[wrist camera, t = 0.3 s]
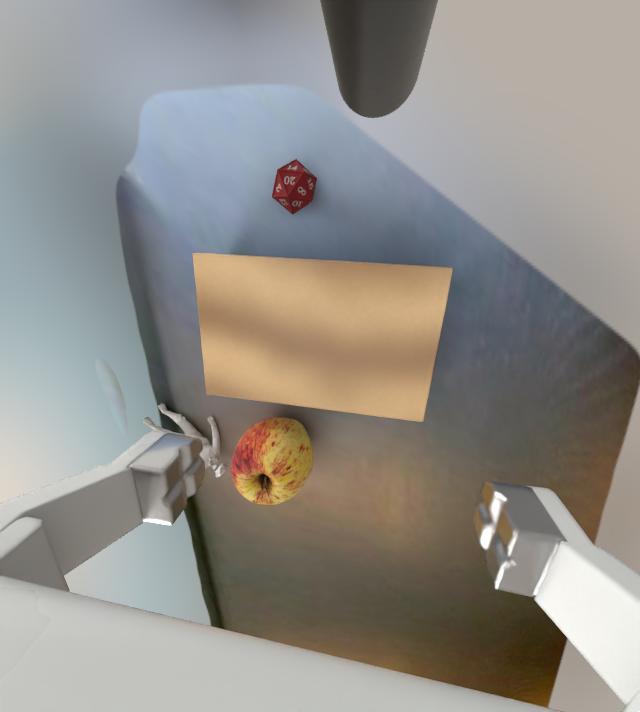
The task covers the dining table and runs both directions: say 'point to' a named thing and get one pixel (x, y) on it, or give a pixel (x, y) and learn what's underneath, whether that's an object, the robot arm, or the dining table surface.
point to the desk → (321, 331)
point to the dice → (294, 186)
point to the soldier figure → (209, 451)
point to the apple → (272, 461)
